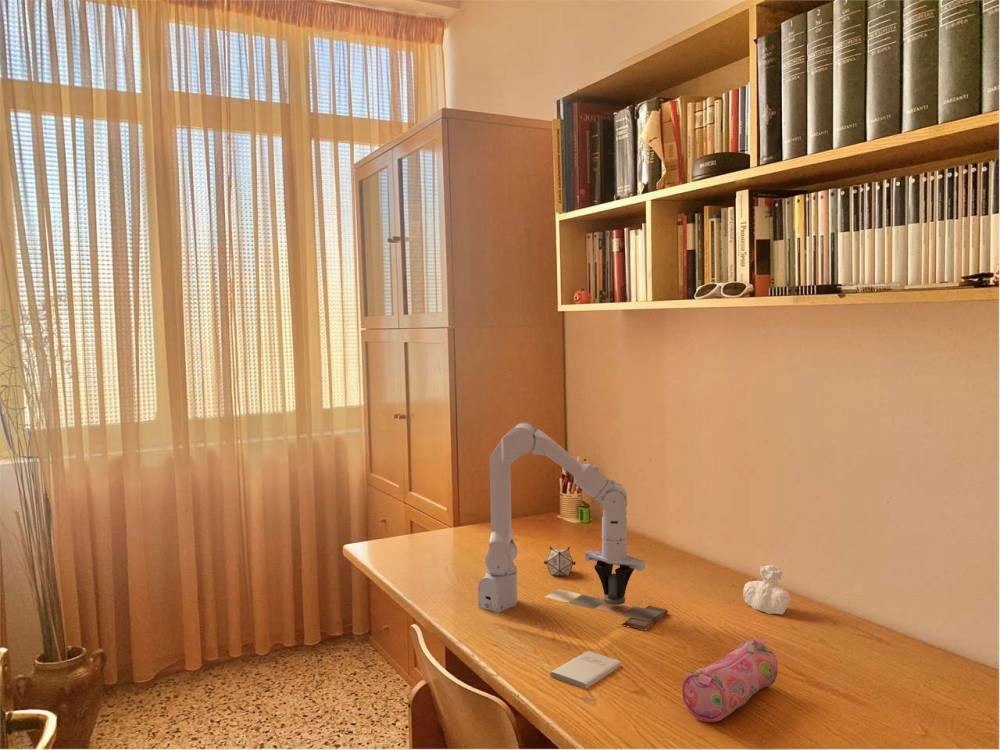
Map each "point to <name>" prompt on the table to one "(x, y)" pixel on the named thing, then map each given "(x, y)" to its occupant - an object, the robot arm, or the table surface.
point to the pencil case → (729, 681)
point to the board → (614, 608)
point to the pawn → (613, 592)
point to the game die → (559, 562)
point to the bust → (767, 592)
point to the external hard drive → (585, 669)
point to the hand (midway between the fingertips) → (614, 595)
